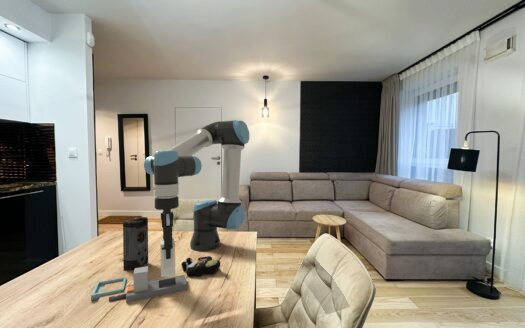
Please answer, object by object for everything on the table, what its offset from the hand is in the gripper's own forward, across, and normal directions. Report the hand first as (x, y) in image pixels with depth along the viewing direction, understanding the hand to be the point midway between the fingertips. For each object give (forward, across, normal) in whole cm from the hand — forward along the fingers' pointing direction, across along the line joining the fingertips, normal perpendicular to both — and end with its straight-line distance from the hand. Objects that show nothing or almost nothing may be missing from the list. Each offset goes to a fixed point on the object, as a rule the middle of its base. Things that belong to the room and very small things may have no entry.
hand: (167, 263), depth 82 cm
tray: (+9, -8, -18) cm, 22 cm away
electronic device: (+10, -24, -11) cm, 28 cm away
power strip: (+9, 0, -6) cm, 11 cm away
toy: (+10, -9, +13) cm, 18 cm away
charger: (+3, 0, 0) cm, 3 cm away
